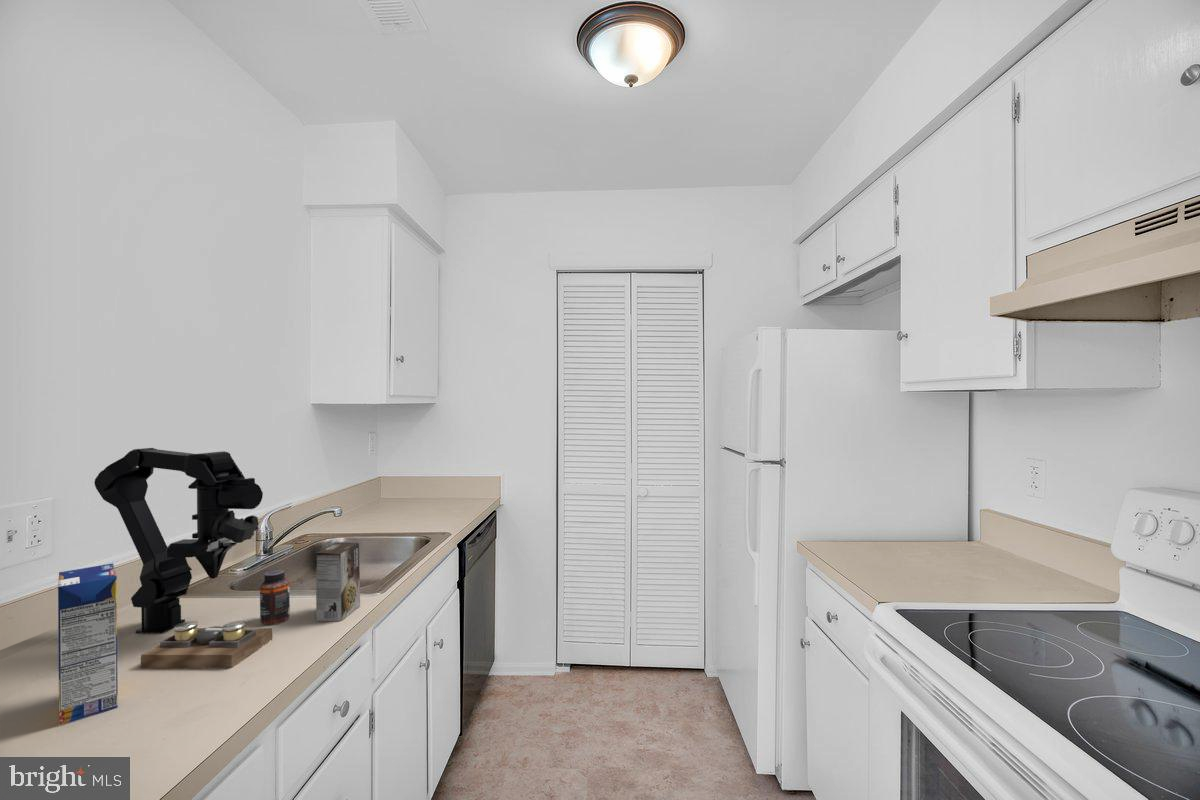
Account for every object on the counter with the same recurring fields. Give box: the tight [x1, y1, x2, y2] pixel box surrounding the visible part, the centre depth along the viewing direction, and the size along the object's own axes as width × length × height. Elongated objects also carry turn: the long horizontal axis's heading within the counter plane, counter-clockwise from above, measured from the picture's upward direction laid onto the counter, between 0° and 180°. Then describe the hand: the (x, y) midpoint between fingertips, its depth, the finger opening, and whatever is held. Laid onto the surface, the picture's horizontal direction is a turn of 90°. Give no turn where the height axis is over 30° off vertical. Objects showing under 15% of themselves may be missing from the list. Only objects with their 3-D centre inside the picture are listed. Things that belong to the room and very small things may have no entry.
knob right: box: [221, 620, 246, 641], centre depth 107 cm, size 4×4×6 cm
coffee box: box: [314, 541, 361, 622], centre depth 127 cm, size 9×6×16 cm
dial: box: [196, 625, 223, 645], centre depth 107 cm, size 5×4×2 cm
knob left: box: [173, 620, 199, 641], centre depth 107 cm, size 4×4×6 cm
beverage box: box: [57, 563, 119, 726], centre depth 89 cm, size 7×11×22 cm, turn 45°
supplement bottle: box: [259, 569, 291, 626], centre depth 123 cm, size 6×6×11 cm
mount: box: [140, 627, 274, 669], centre depth 107 cm, size 18×12×4 cm, turn 88°
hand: (213, 577), depth 117 cm, fingers closed
